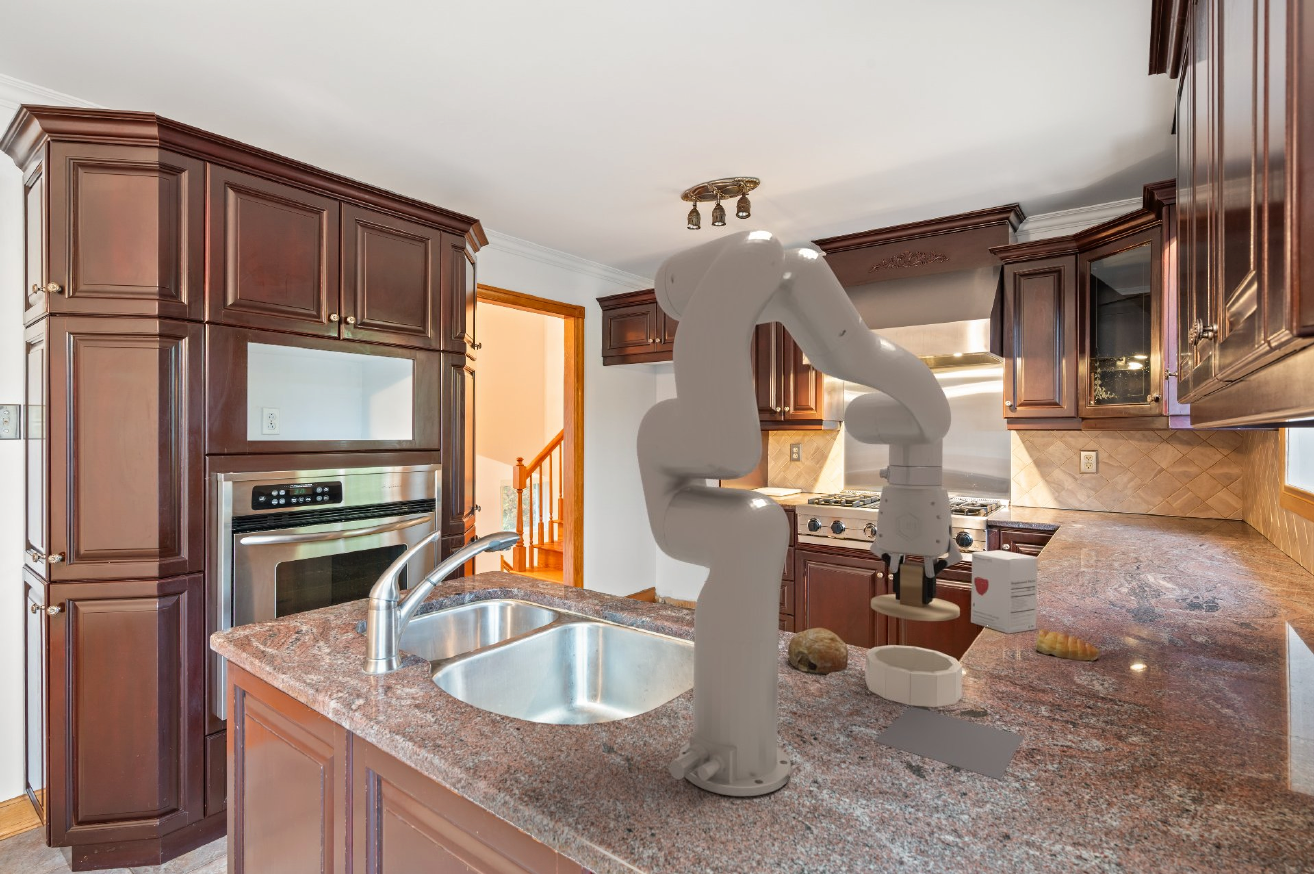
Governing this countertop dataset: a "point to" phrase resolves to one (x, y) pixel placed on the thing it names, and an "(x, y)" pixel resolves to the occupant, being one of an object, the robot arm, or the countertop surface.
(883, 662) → the bowl
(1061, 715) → the countertop surface
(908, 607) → the lid
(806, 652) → the bread roll
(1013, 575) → the supplement box
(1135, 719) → the countertop surface
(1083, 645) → the pastry
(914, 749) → the mat
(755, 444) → the robot arm
